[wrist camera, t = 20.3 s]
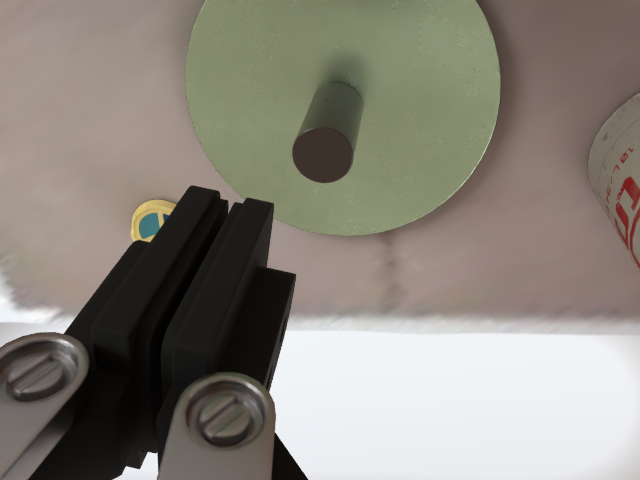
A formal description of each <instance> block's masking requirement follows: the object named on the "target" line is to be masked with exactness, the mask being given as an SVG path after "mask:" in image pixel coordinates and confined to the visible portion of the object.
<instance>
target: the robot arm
mask: <svg viewBox="0 0 640 480" xmlns="http://www.w3.org/2000/svg"><path fill="white" fill-rule="evenodd" d="M273 214H274V203H271V202H267V201H262V200H258V199H253V198H248V197H247V198H246V199H245V201H244V203H243V204H242V203H237V202H235V203H234V204H233V206H232V208H231V210H230V212H229V214H228V201H227V200H224V199H220V192H219V191H216V190H211V189H207V188H202V187H197V186H190V187H189V188H188V189H187V191H186V192H185V194H184V195H183V196H182V198H181V199H180V201H179V202H178V204H177V205H176V206H175V208H174V209H173V211H172V212H171V213H170V215H169V216H168V218H167V219H166V220H165V222H164V223H163V225H162V226H161V228H160V229H159V230H158V232H157V233H156V235H155V236H154V237H153V239H152V240H151V242H147V241H142V240H137V241H134V242H133V243H132V244H131V245H130V247H129V248H128V249H127V251H126V252H125V253H124V255H123V256H122V257H121V259H120V260H119V261H118V263H117V264H116V265H115V266H114V268H113V269H112V270H111V272H110V273H109V274H108V276H107V277H106V278H105V280H104V281H103V282H102V284H101V285H100V286H99V288H98V289H97V290H96V292H95V293H94V294H93V296H92V297H91V298H90V300H89V301H88V302H87V304H86V305H85V306H84V308H83V309H82V310H81V312H80V313H79V314H78V315H77V317H76V318H75V319H74V321H73V322H72V323H71V325H70V326H69V327H68V329H67V330H66V331H65V333H64V334H60V333H56V332H48V333H47V332H46V333H45V332H44V333H35V334H31V335H26V336H22V337H20V338H17V339H15V340H13V341H11V342H8V343H6V344H5V345H3V346H2V347H1V348H0V480H112V479H115V478H117V477H118V476H120V475H122V473H123V470H124V469H125V467H126V466H128V467H132V468H137V469H140V468H141V465H142V463H143V461H144V459H145V457H146V454H147V452H152V453H157V452H158V477H157V480H308V479H307V477H306V476H305V474H304V473H303V472H302V470H301V469H300V467H299V466H298V464H297V463H296V462H295V460H294V459H293V457H292V456H291V455H290V454H289V452H288V450H287V449H286V447H285V446H284V444H283V443H282V442H281V440H280V439H279V437H278V436H277V434H276V433H275V421H276V414H275V405H274V402H273V399H272V397H271V396H270V393H269V391H270V387H271V383H272V380H273V376H274V372H275V368H276V365H277V361H278V358H279V354H280V350H281V347H282V342H283V339H284V335H285V331H286V327H287V322H288V318H289V313H290V309H291V303H292V298H293V292H294V287H295V281H296V274H293V273H289V272H284V271H280V270H275V269H271V268H267V260H268V253H269V245H270V237H271V230H272V222H273Z"/></svg>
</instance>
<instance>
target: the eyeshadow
mask: <svg viewBox="0 0 640 480" xmlns="http://www.w3.org/2000/svg"><path fill="white" fill-rule="evenodd" d="M176 205H177V204H175V203H172V202H169V201H165V200H150V201H147V202H145V203H143V204H142V205H141V206H139V207H138V209H137V210H136V211H135V213H134V215H133V219H132V228H131V237H132V239H133V240H134V241H137V240H142V241H147V242H151V240H152V239H153V237H154V236H155V235H156V233H157V232H158V230H159V229H160V228H161V226H162V225H163V223H164V222H165V220H166V219H167V218H168V216H169V215H170V213H171V212H172V211H173V209H174V208H175V206H176Z"/></svg>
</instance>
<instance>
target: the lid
mask: <svg viewBox="0 0 640 480" xmlns="http://www.w3.org/2000/svg"><path fill="white" fill-rule="evenodd" d="M185 83H186V97H187V102H188V108H189V113H190V116H191V120H192V123H193V126H194V129H195V132H196V134H197V137H198V139H199V141H200V143H201V146H202V148H203V150H204V151H205V153H206V155H207V156H208V158H209V160H210V161H211V163H212V165H213V166H214V167H215V169H216V170H217V171H218V173H219V174H220V175H221V176H222V178H223V179H224V180H225V181H226V182H227V183H228V184H229V185H230V186H231V187H232V188H233V189H234V191H235V192H237V193H238V194H239V195H240V196H241V197H243V198H244V199H246V198H247V197H248V198H253V199H258V200H262V201H267V202H271V203H274V214H273V218H274V219H276V220H278V221H280V222H283V223H285V224H288V225H290V226H293V227H296V228H299V229H303V230H306V231H310V232H314V233H320V234H326V235H338V236H356V235H368V234H374V233H380V232H384V231H388V230H391V229H395V228H398V227H401V226H403V225H406V224H408V223H411V222H413V221H415V220H417V219H419V218H421V217H423V216H424V215H426V214H428V213H430V212H431V211H433V210H434V209H436V208H437V207H438V206H440V205H441V204H443V203H444V202H445V201H446V200H448V199H449V198H450V197H451V196H452V195H453V194H454V193H455V192H456V191H457V190H458V189H459V188H460V187H461V186H462V185H463V184H464V183H465V181H466V180H467V179H468V178H469V177H470V175H471V174H472V173H473V171H474V170H475V168H476V167H477V165H478V163H479V162H480V160H481V159H482V157H483V155H484V153H485V151H486V149H487V147H488V144H489V142H490V140H491V137H492V134H493V131H494V128H495V125H496V122H497V116H498V111H499V105H500V95H501V74H500V64H499V56H498V52H497V48H496V44H495V40H494V36H493V34H492V31H491V29H490V26H489V24H488V22H487V19H486V17H485V14H484V13H483V11H482V9H481V8H480V6H479V4H478V2H477V1H476V0H206V1H205V3H204V4H203V6H202V8H201V10H200V12H199V14H198V16H197V19H196V22H195V24H194V27H193V30H192V33H191V36H190V41H189V45H188V50H187V55H186V68H185Z"/></svg>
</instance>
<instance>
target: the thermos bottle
mask: <svg viewBox="0 0 640 480" xmlns="http://www.w3.org/2000/svg"><path fill="white" fill-rule="evenodd" d="M588 178H589V181H590V184H591V187H592V190H593V192H594V193H595V195H596V197H597V199H598V200H599V202H600V204H601V205H602V207H603V209H604V211H605V212H606V214H607V216H608V218H609V219H610V221H611V223H612V224H613V226H614V228H615V230H616V231H617V233H618V235H619V237H620V238H621V240H622V242H623V244H624V245H625V247H626V249H627V250H628V252H629V254H630V256H631V257H632V259H633V261H634V263H635V264H636V266H637V268H638V269H639V271H640V93H638V94H637V95H635V96H633V97H632V98H630V99H629V100H628V101H627V102H625V103H624V104H623V105H622V106H620V107H619V108H618V109H617V110H616V111H615V112H614V113H613V114H612V115H611V116H610V117H609V119H608V120H607V121H606V122H605V123H604V125H603V126H602V128H601V129H600V131H599V132H598V134H597V136H596V137H595V140H594V142H593V145H592V147H591V150H590V154H589V160H588Z"/></svg>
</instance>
